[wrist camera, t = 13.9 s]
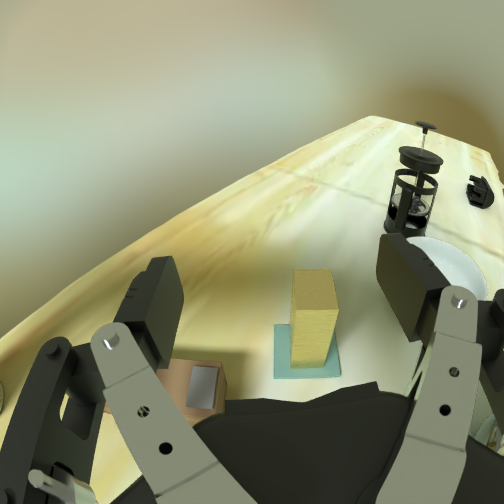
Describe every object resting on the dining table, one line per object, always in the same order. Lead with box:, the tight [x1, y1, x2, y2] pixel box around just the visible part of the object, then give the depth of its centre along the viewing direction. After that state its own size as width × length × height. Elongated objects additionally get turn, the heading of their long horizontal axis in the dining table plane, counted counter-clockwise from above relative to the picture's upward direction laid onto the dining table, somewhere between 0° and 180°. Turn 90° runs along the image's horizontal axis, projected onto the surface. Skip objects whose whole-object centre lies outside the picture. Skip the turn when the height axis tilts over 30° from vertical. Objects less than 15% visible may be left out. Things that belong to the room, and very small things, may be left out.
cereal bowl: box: [407, 237, 488, 301], centre depth 37 cm, size 17×17×7 cm
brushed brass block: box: [289, 270, 339, 369], centre depth 32 cm, size 4×6×11 cm, turn 177°
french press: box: [384, 121, 443, 239], centre depth 48 cm, size 12×9×23 cm
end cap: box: [466, 175, 494, 209], centre depth 64 cm, size 10×7×7 cm
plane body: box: [103, 358, 227, 427], centre depth 28 cm, size 15×6×6 cm, turn 87°
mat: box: [274, 325, 340, 379], centre depth 35 cm, size 8×8×1 cm
